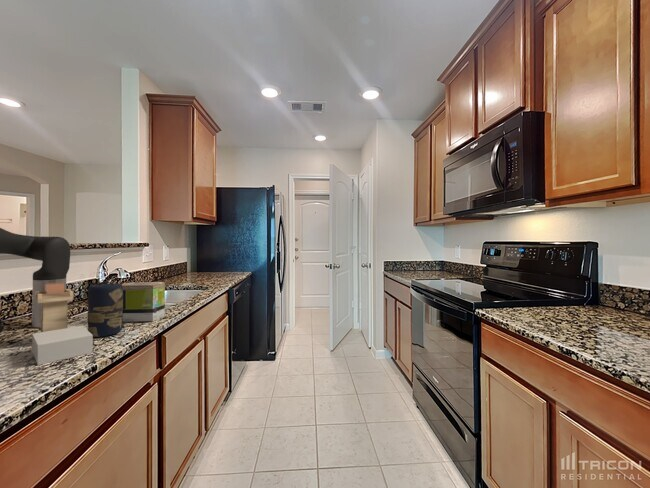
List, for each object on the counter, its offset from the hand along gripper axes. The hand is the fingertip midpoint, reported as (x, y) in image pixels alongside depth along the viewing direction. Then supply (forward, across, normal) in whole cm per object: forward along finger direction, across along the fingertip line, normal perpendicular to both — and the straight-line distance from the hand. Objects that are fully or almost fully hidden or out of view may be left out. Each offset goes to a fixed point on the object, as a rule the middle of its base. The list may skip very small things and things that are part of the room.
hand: (1, 325), depth 82 cm
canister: (+23, -4, +7) cm, 25 cm away
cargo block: (+11, 0, -7) cm, 13 cm away
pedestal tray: (+11, 0, +7) cm, 13 cm away
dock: (+11, -15, +7) cm, 20 cm away
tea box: (+38, +9, +7) cm, 40 cm away
